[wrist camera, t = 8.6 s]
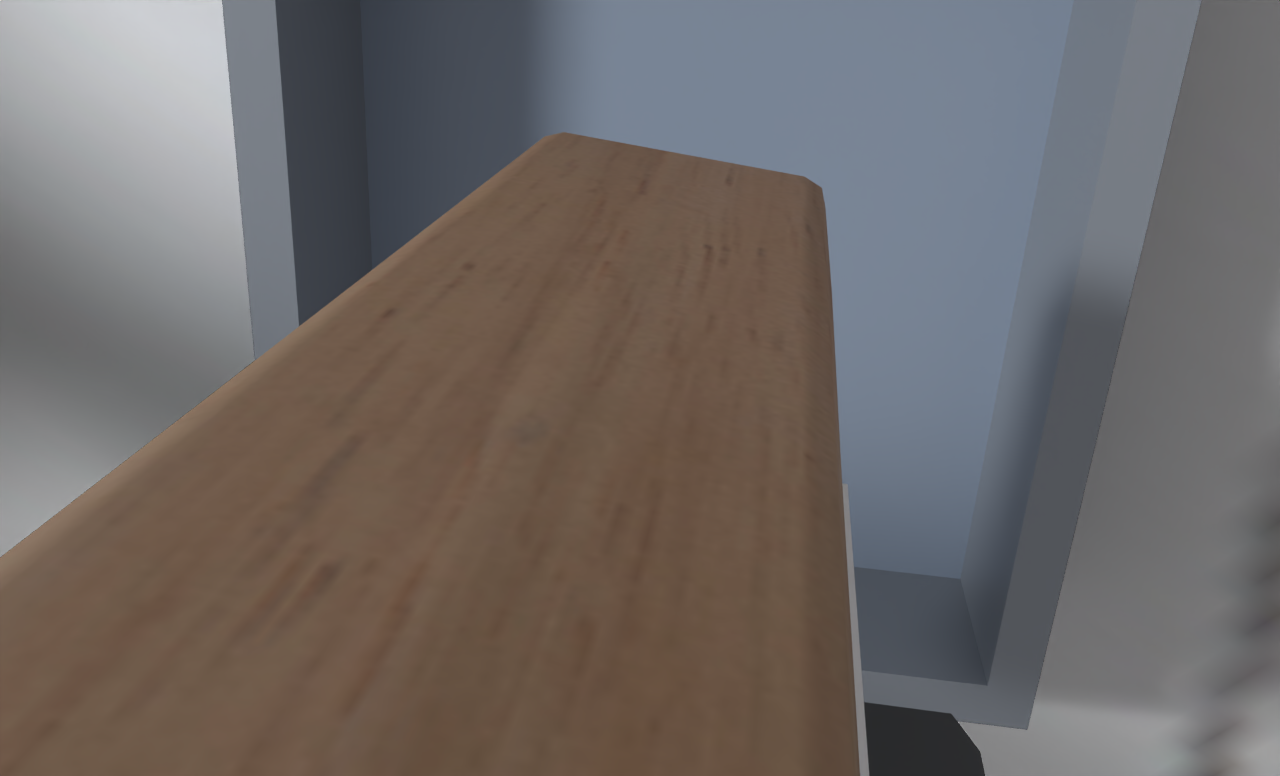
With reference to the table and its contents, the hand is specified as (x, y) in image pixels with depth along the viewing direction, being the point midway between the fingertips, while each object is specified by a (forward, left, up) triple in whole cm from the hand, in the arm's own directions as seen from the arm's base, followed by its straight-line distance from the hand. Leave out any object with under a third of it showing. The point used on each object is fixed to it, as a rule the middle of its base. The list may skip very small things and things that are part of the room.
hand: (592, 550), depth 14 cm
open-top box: (0, 0, -17) cm, 17 cm away
